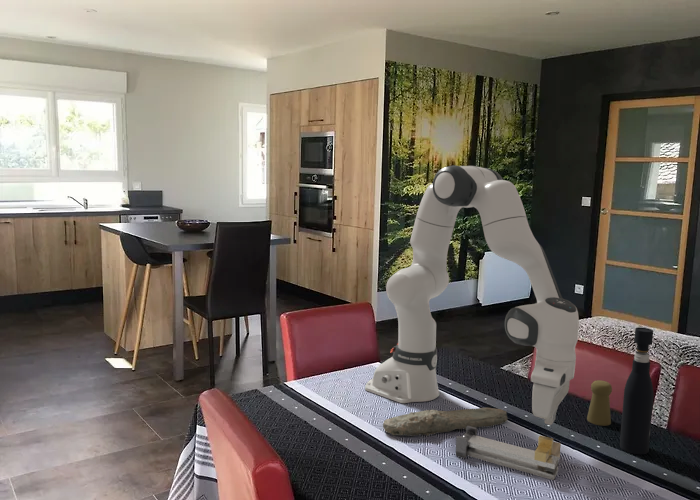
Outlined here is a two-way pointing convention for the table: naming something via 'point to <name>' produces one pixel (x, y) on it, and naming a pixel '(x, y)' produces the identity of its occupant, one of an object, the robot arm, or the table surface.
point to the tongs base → (499, 458)
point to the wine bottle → (638, 398)
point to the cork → (600, 403)
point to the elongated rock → (443, 421)
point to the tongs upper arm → (509, 451)
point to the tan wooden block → (556, 449)
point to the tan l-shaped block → (544, 448)
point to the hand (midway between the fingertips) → (549, 422)
